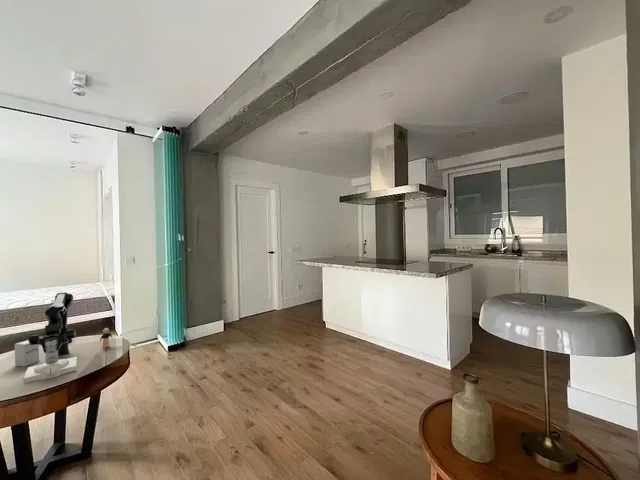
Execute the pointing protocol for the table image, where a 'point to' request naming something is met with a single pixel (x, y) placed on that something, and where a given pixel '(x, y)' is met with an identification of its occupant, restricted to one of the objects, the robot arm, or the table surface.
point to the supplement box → (26, 353)
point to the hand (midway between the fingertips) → (51, 351)
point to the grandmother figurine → (106, 338)
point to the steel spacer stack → (51, 351)
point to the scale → (50, 369)
